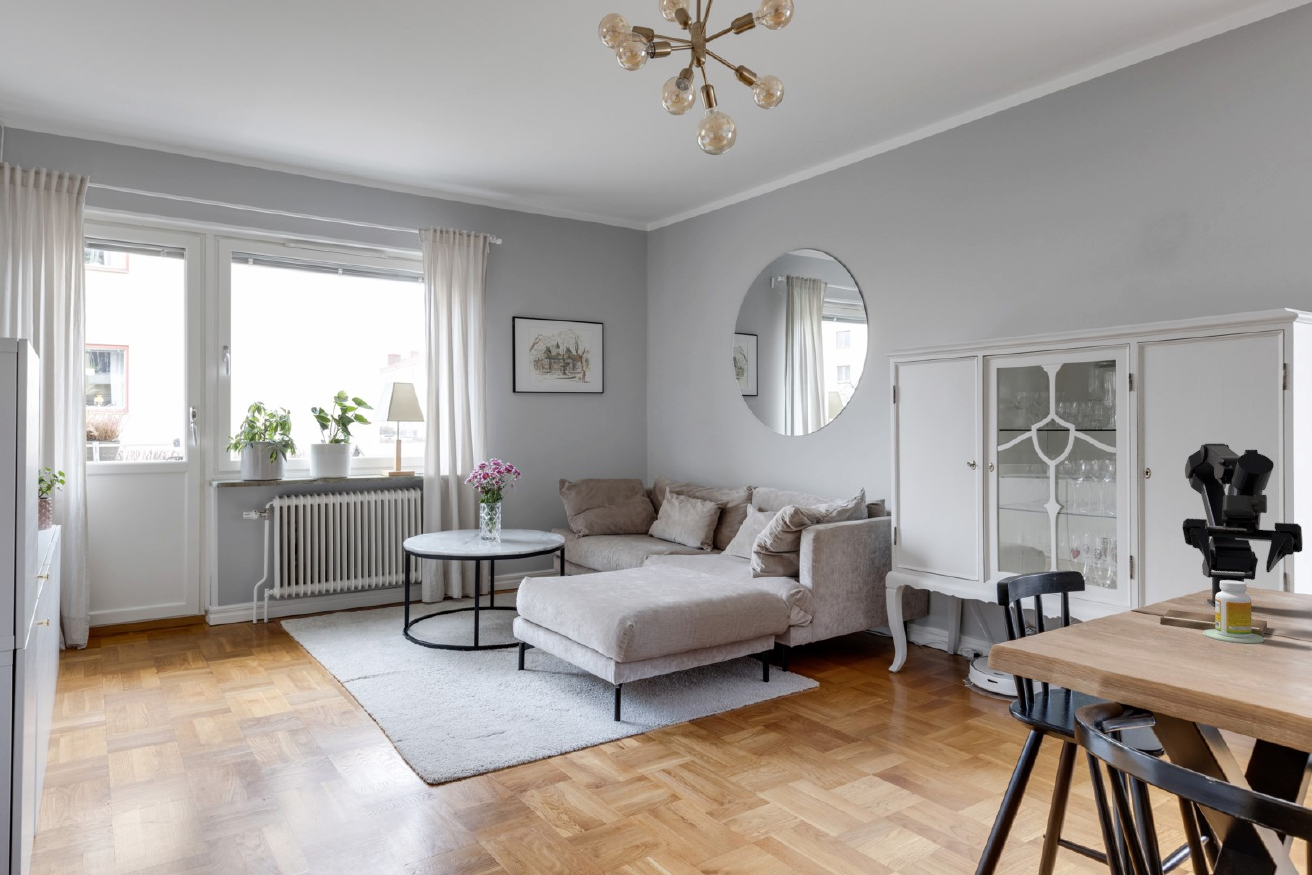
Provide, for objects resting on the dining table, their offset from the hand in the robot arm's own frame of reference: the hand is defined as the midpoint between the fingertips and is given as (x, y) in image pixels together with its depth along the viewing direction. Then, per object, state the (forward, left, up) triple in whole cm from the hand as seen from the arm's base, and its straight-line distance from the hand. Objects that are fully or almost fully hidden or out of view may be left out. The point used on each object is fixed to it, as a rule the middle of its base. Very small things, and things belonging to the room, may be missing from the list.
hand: (1237, 568), depth 153 cm
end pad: (+8, -3, -12) cm, 14 cm away
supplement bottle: (+7, -3, -11) cm, 14 cm away
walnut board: (-2, -4, -12) cm, 12 cm away
